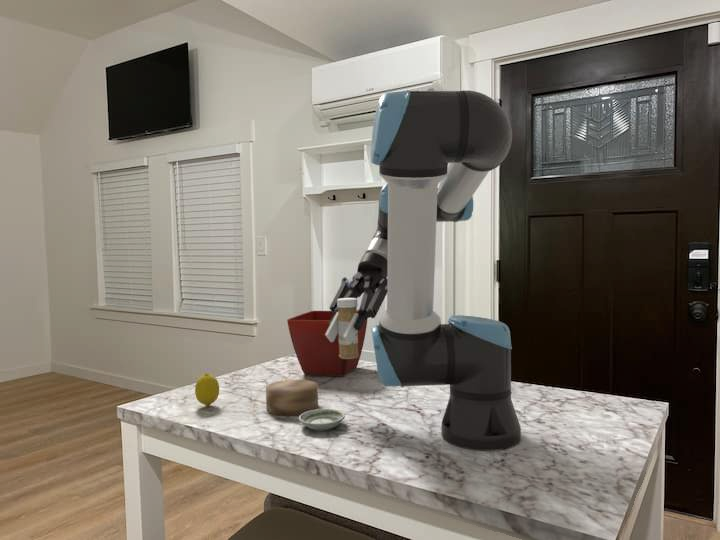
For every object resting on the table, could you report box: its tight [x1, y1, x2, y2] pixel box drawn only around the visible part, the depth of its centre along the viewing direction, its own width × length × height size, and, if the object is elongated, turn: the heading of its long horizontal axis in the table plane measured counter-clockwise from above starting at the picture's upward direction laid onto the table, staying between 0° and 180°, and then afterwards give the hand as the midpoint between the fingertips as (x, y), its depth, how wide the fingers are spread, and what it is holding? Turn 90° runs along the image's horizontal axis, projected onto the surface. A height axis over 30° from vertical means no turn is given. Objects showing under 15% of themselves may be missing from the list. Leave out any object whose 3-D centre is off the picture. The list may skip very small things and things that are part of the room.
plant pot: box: [286, 310, 368, 377], centre depth 158 cm, size 19×19×17 cm
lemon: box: [194, 373, 220, 407], centre depth 126 cm, size 6×6×8 cm
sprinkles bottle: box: [337, 298, 359, 359], centre depth 120 cm, size 5×5×14 cm
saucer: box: [298, 408, 346, 432], centre depth 111 cm, size 10×10×2 cm
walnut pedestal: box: [265, 379, 319, 417], centre depth 124 cm, size 12×12×5 cm
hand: (338, 339), depth 117 cm, fingers closed on sprinkles bottle, 4 cm apart
